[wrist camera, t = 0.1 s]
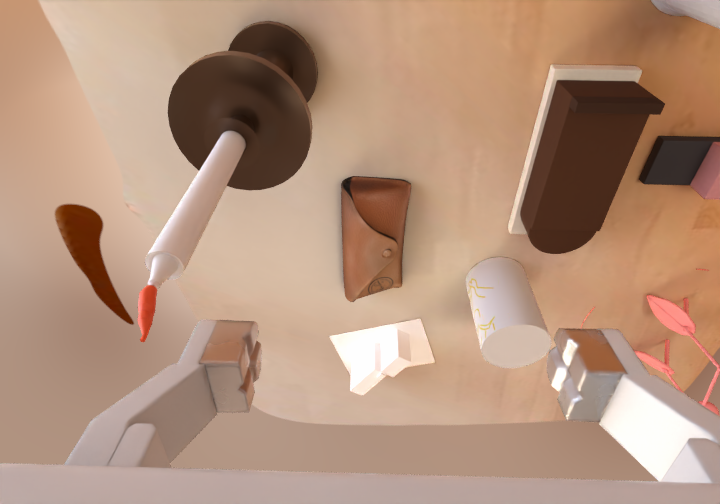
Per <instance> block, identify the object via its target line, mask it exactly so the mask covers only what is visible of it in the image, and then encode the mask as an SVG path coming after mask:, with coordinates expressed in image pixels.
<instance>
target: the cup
mask: <svg viewBox="0 0 720 504" xmlns="http://www.w3.org/2000/svg"><path fill="white" fill-rule="evenodd" d="M466 287H467V292H468V296H469V300H470V305H471V309H472V313H473V318H474V322H475V327H476V331H477V335H478V340H479V344H480V348H481V353H482V356H483V358H484V359H485V360H486V361H487V362H488V363H490V364H492V365H494V366H497V367H501V368H520V367H524V366H528V365H531V364H533V363H535V362H537V361H539V360H540V359H542V358H543V357H544V356H545V355H546V354H547V353H548V351H549V350H550V348H551V337H550V335H549V332H548V330H547V327H546V325H545V322H544V319H543V317H542V314H541V312H540V309H539V307H538V304H537V302H536V299H535V296H534V294H533V291H532V289H531V286H530V284H529V281H528V278H527V276H526V273H525V271H524V268H523V267H522V265H521V264H520V263H518V262H517V261H515V260H513V259H510V258H506V257H494V258H489V259H486V260H484V261H481V262H479V263H478V264H476V265H475V266H474V267H473V268H472V269H471V270H470V271H469V273H468V274H467V277H466Z"/></svg>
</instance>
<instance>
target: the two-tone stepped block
mask: <svg viewBox="0 0 720 504" xmlns="http://www.w3.org/2000/svg"><path fill="white" fill-rule="evenodd" d="M639 180H640V181H641V182H642V183H643V184H662V185H690V186H691V187H692V188H693V189H694V190H695V191H696V192H697V193H699V194H700V195H701V196H702V197H703V198H704V199H720V137H684V136H659V137H658V139H657V141H656V143H655V145H654V148H653V150H652V152H651V154H650V156H649V158H648V161H647V163H646V165H645V167H644V169H643V172H642V174H641V176H640V178H639Z"/></svg>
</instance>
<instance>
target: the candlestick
mask: <svg viewBox="0 0 720 504" xmlns="http://www.w3.org/2000/svg"><path fill="white" fill-rule="evenodd" d="M317 75H318V71H317V63H316V59H315V56H314V53H313V51H312V50H311V48H310V46H309V44H308V43H307V42H306V40H305V39H304V38H303V37H302V36H301V35H300V34H299V33H298V32H296V31H295V30H293V29H292V28H290V27H289V26H286V25H284V24H281V23H278V22H271V21H265V22H258V23H254V24H251V25H250V26H248V27H246V28H244V29H243V30H242V31H241V32H240V33H239V34H238V35H237V36H236V37H235V38H234V40H233V41H232V43H231V45H230V47H229V50H228V51H222V52H216V53H213V54H209V55H206V56H204V57H202V58H200V59H199V60H197V61H195V62H194V63H193V64H191V65H190V66H189V67H188V68H187V69H186V70H185V71H184V72H183V73H182V74H181V75H180V76H179V78H178V79H177V81H176V83H175V84H174V86H173V88H172V91H171V94H170V97H169V104H168V117H169V125H170V128H171V131H172V134H173V137H174V140H175V141H176V143H177V145H178V147H179V149H180V150H181V152H182V153H183V154H184V156H185V157H186V158H187V159H188V161H189V162H190V163H191V164H192V165H193V166H194V167H196V168H197V169H198V170H199V172H198V174H197V175H196V177H195V179H194V180H193V182H192V183H191V185H190V187H189V188H188V190H187V191H186V193H185V195H184V196H183V198H182V200H181V201H180V203H179V204H178V206H177V208H176V209H175V211H174V212H173V214H172V216H171V217H170V219H169V221H168V222H167V224H166V225H165V227H164V229H163V230H162V232H161V233H160V235H159V237H158V238H157V240H156V242H155V243H154V245H153V246H152V248H151V250H150V251H149V253H148V255H147V256H146V258H145V265H146V267H147V268H148V270H149V271H150V272H151V276H150V279H149V281H148V286H146V287H145V288H144V289H143V290H142V291H141V292H140V293H139V303H138V311H139V316H138V323H139V326H140V329H141V332H142V334H143V335H142V337H141V339H140V341H141V342H145V340H146V338H147V335H148V333H149V330H150V327H151V325H152V321H153V316H154V313H155V305H156V295H157V289H159V288H160V286H161V285H162V283H163V282H164V281H165V280H173V279H177V278H179V277H180V276H181V275H182V274H183V272H184V270H185V268H186V266H187V264H188V262H189V260H190V258H191V256H192V254H193V252H194V250H195V248H196V246H197V244H198V242H199V240H200V238H201V236H202V234H203V232H204V230H205V228H206V226H207V224H208V222H209V220H210V218H211V216H212V214H213V212H214V210H215V208H216V206H217V204H218V202H219V200H220V198H221V196H222V194H223V192H224V190H225V188H226V186H229V187H233V188H236V189H244V190H262V189H266V188H271V187H274V186H276V185H279V184H281V183H283V182H285V181H286V180H288V179H289V178H291V177H292V176H293V175H294V174H295V173H296V172H297V171H298V170H299V169H300V167H301V166H302V164H303V162H304V161H305V159H306V157H307V154H308V150H309V147H310V143H311V139H312V121H311V114H310V111H309V108H308V105H307V102H308V101H309V100H310V98H311V97H312V95H313V93H314V90H315V86H316V83H317Z"/></svg>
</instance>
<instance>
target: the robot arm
mask: <svg viewBox="0 0 720 504" xmlns="http://www.w3.org/2000/svg"><path fill="white" fill-rule="evenodd" d="M258 333H259V330H258V325H257V323H256V322H254V321H232V320H203V319H201V320H200V321H199V322H198V323H197V325H196V327H195V329H194V331H193V333H192V335H191V337H190V339H189V341H188V343H187V345H186V347H185V349H184V351H183V353H182V355H181V357H180V360H179V362H178V364H171V365H169V366H168V367H167V368H165V369H164V370H162V371H161V372H159V373H158V374H157V375H155V376H154V377H152V378H151V379H150V380H148V381H147V382H145V383H144V384H142V385H141V386H140V387H138V388H137V389H135V390H134V391H132V392H131V393H130V394H128V395H127V396H125V397H124V398H122V399H121V400H120V401H118V402H117V403H116V404H114V405H113V406H111V407H110V408H108V409H107V410H105V411H104V412H103V413H101V414H100V415H98V416H97V417H95V418H94V419H93V420H92V421H91V422H90V423H89V425H88V427H87V428H86V430H85V432H84V433H83V435H82V437H81V438H80V440H79V441H78V443H77V445H76V446H75V448H74V449H73V451H72V453H71V455H70V456H69V458H68V459H67V461H66V463H65V464H64V465H51V464H49V465H48V464H14V463H13V464H12V463H0V504H720V416H718V415H717V414H715V413H714V412H712V411H711V410H709V409H707V408H706V407H704V406H703V405H701V404H700V403H698V402H697V401H695V400H693V399H692V398H690V397H689V396H687V395H686V394H684V393H683V392H681V391H679V390H678V389H676V388H675V387H673V386H672V385H670V384H669V383H667V382H665V381H664V380H662V379H661V378H659V377H658V376H656V375H650V374H649V373H648V371H647V370H646V368H645V367H644V365H643V364H642V362H641V361H640V359H639V358H638V356H637V355H636V353H635V352H634V350H633V349H632V347H631V346H630V344H629V343H628V342H627V340H626V339H625V337H624V336H623V334H622V333H621V331H619V330H618V329H564V328H559V329H558V331H557V332H556V334H555V336H554V341H555V343H556V347H554V348H553V349H552V350H550V351H549V355H548V358H547V373H548V378H549V380H550V383H551V385H552V386H553V387H554V388H555V389H556V390H558V391H559V392H560V394H559V396H558V399H557V400H558V402H559V405H560V407H561V409H562V412H563V414H564V416H565V419H566V421H582V422H600V423H599V424H600V425H601V426H602V427H603V428H604V429H605V430H606V431H607V432H608V433H609V434H610V435H611V436H613V438H614V439H615V440H616V441H618V442H619V443H620V444H621V445H622V446H623V447H624V448H625V449H626V450H627V451H628V452H629V453H630V454H631V455H632V456H633V457H634V458H635V459H636V460H637V461H638V462H639V463H641V464H642V465H643V466H644V467H645V468H646V469H647V470H648V471H649V472H650V473H651V474H652V475H653V476H654V477H655V478H656V479H657V480H658V481H659V482H656V481H655V482H654V481H620V480H586V479H550V478H514V477H477V476H442V475H407V474H371V473H337V472H300V471H266V470H263V471H262V470H230V469H228V470H227V469H195V468H171V465H170V463H171V462H172V461H173V460H174V459H175V458H176V457H177V455H179V453H180V452H181V451H182V450H183V449H184V448H185V447H186V446H187V445H188V444H189V443H190V442H191V441H192V440H193V439H194V438H195V437H196V436H197V435H198V434H199V433H200V431H202V429H203V428H204V427H205V426H206V425H207V424H208V423H209V422H210V421H211V420H212V419H213V418H214V417H215V416H216V415H217V412H249V411H250V407H251V404H252V400H253V396H254V393H255V390H254V384H253V383H254V382H255V381H256V380H257V379H258V378H259V374H260V370H261V362H262V350H261V344H260V343H259V342H258V341H257V337H258Z"/></svg>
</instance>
